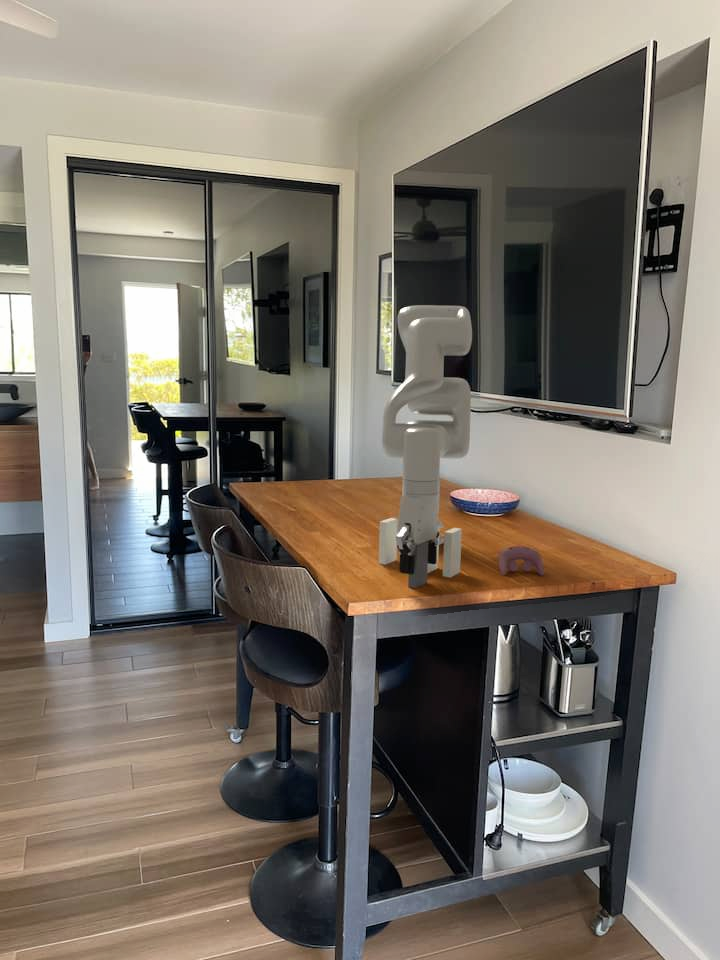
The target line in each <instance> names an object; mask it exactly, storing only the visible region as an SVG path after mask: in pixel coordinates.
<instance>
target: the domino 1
mask: <svg viewBox="0 0 720 960" xmlns="http://www.w3.org/2000/svg"><path fill="white" fill-rule="evenodd" d="M397 529H398V518H394V517H390V518H386V519H383V520H380V521H379V532H378V533H379V536H378V537H379V538H378V539H379V541H378V542H379V543H378V544H379V545H378V547H379V548H378V565H384V566H386V565H389V564H392V563H393V562H395V561H397V557H398V555H397V554H398V551H397V550H398V548H397V541H396V536H397Z"/></svg>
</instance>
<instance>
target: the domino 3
mask: <svg viewBox="0 0 720 960" xmlns="http://www.w3.org/2000/svg"><path fill="white" fill-rule="evenodd" d="M437 540H438V545H435V546H437V557H436V564H429V563H428V569H427V574H429V573H432V572H433V571H435V570H437V569H438V568H439V556H440V555H439V553H440V552H439V549H440V548H439V547H440V545H439V536H438V539H437Z"/></svg>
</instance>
